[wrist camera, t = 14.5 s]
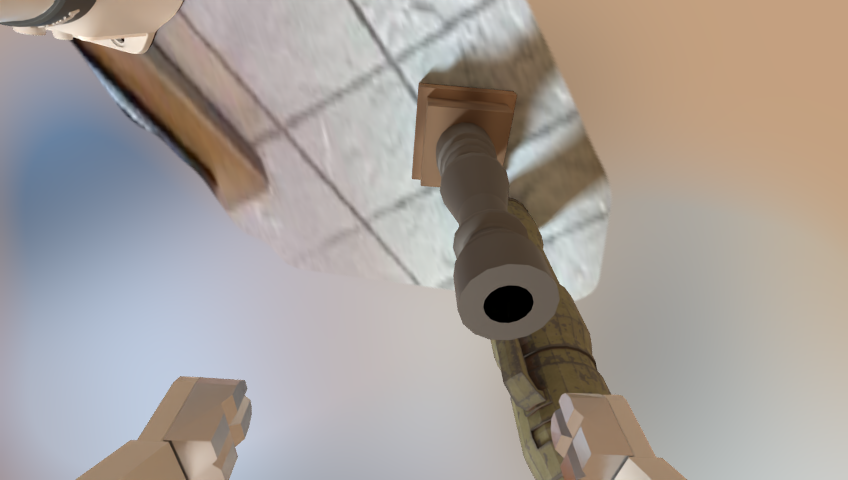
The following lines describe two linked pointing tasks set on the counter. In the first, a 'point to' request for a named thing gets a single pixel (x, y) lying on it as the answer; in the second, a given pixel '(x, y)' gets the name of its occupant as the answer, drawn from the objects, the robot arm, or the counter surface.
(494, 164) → the candle holder
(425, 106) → the walnut stand
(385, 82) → the counter surface
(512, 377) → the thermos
